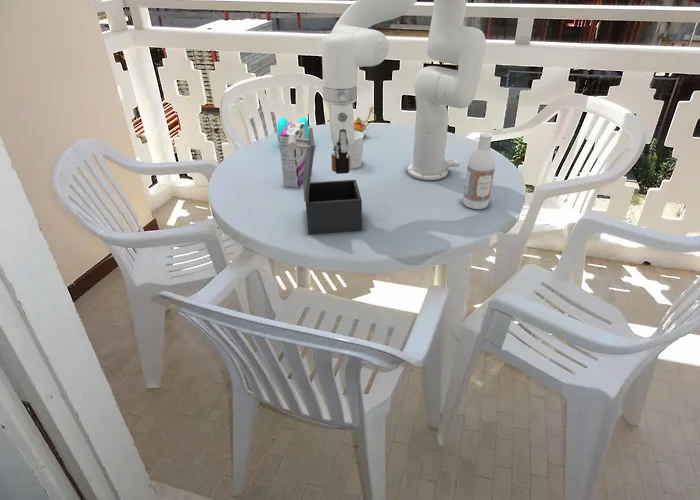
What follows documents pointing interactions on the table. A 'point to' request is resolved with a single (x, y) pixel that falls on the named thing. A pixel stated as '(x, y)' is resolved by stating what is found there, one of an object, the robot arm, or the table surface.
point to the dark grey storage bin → (334, 207)
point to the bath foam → (479, 175)
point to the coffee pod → (336, 156)
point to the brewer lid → (308, 160)
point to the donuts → (284, 122)
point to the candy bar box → (292, 155)
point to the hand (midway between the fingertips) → (341, 167)
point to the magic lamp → (360, 126)
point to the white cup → (356, 150)
